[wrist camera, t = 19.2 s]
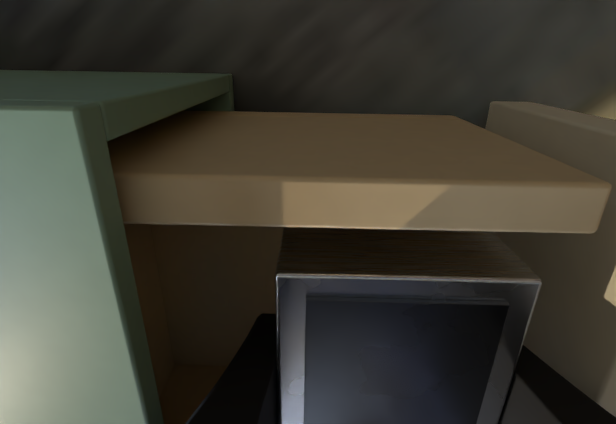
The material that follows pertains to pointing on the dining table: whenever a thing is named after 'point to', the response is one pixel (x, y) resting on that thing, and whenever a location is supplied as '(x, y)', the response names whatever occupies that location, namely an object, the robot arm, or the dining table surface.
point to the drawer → (363, 220)
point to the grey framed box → (398, 325)
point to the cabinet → (77, 242)
